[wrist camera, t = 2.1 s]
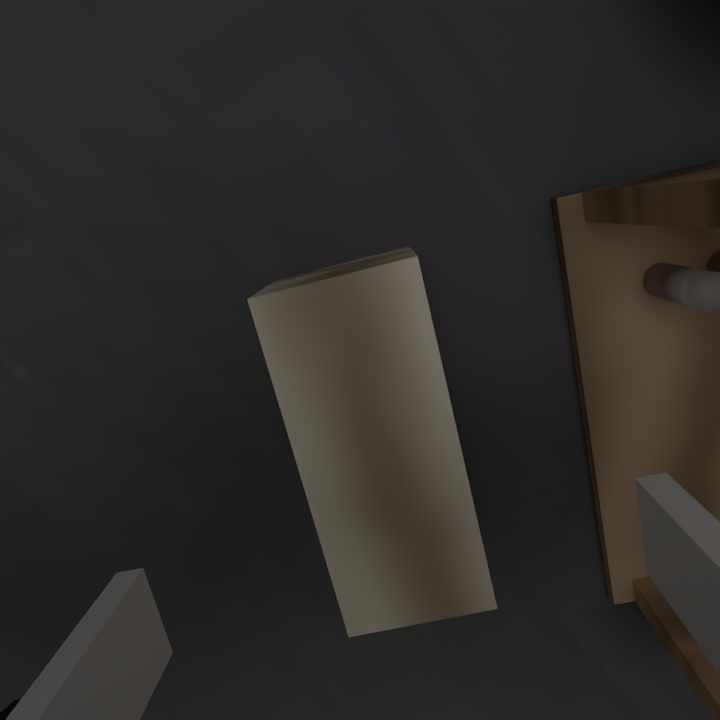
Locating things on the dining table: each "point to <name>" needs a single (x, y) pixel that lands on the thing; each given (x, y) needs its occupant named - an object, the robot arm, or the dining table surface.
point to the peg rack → (647, 367)
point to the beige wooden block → (375, 440)
